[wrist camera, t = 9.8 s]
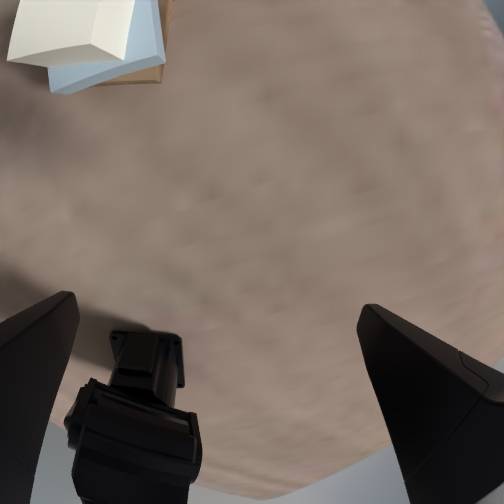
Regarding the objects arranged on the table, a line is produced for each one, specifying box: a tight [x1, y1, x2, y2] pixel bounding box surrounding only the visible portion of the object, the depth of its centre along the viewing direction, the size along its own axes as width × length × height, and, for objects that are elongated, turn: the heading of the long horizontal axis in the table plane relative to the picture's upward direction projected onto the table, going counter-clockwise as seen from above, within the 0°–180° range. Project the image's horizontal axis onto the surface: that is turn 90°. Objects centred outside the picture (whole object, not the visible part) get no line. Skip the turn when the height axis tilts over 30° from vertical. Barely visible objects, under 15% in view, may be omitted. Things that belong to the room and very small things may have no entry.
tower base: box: [90, 0, 174, 87], centre depth 14 cm, size 7×7×2 cm
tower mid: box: [48, 0, 166, 94], centre depth 12 cm, size 6×6×2 cm
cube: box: [7, 0, 135, 68], centre depth 9 cm, size 4×4×4 cm
